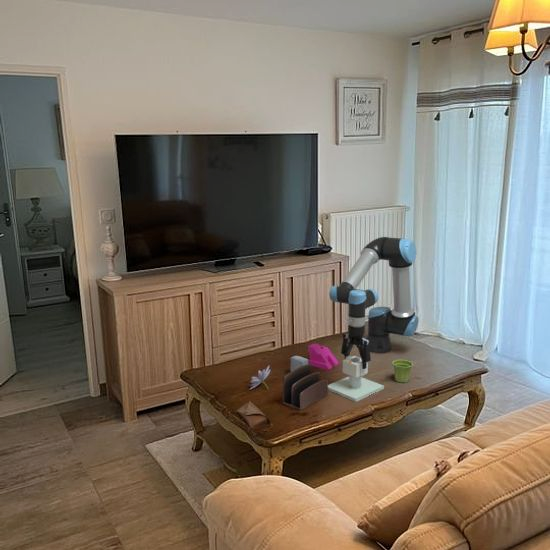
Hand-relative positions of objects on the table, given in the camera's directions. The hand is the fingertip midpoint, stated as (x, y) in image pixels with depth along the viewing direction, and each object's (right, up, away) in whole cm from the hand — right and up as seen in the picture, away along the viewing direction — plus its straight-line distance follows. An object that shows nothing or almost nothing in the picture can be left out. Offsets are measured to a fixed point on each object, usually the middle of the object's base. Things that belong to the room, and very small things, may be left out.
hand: (355, 372), depth 258 cm
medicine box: (-25, -5, +18) cm, 31 cm away
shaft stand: (0, -8, +2) cm, 8 cm away
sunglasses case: (-46, -15, -24) cm, 54 cm away
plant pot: (+24, -6, +11) cm, 27 cm away
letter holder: (-23, -11, -8) cm, 27 cm away
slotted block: (0, 0, 0) cm, 0 cm away
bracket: (-12, -2, +31) cm, 33 cm away
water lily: (-44, -8, +5) cm, 45 cm away
